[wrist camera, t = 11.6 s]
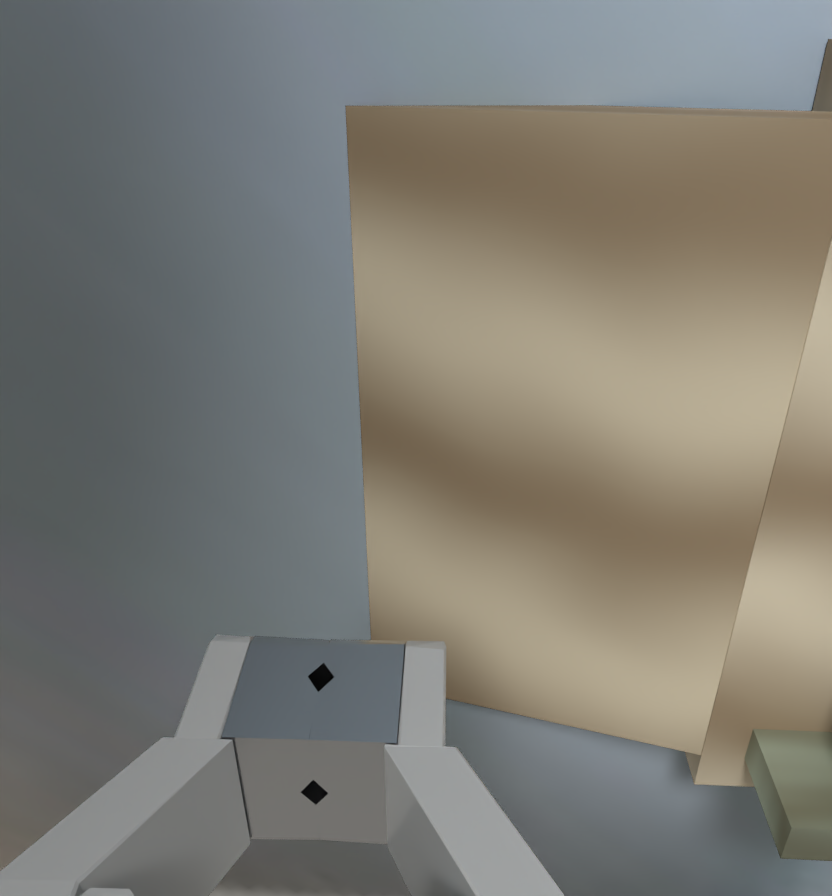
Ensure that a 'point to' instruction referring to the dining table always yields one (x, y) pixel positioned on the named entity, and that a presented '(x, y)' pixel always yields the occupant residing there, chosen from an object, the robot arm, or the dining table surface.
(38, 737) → the dining table surface
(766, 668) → the dock
